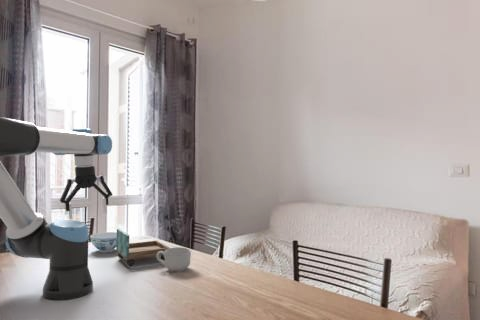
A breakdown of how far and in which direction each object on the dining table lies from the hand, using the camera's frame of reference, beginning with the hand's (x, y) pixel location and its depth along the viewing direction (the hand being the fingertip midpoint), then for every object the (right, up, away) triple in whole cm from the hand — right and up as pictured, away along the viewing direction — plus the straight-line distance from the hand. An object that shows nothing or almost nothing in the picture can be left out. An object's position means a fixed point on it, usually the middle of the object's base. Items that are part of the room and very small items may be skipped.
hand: (88, 215), depth 148 cm
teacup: (+37, -22, -3) cm, 43 cm away
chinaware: (-2, -22, +25) cm, 33 cm away
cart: (+21, -22, +9) cm, 31 cm away
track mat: (+25, -22, +11) cm, 35 cm away
